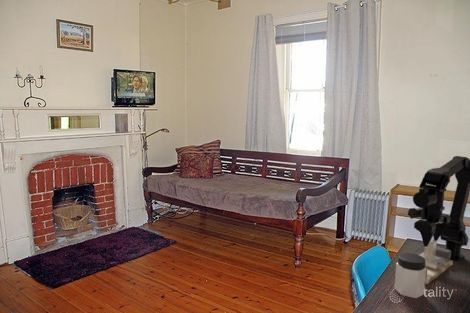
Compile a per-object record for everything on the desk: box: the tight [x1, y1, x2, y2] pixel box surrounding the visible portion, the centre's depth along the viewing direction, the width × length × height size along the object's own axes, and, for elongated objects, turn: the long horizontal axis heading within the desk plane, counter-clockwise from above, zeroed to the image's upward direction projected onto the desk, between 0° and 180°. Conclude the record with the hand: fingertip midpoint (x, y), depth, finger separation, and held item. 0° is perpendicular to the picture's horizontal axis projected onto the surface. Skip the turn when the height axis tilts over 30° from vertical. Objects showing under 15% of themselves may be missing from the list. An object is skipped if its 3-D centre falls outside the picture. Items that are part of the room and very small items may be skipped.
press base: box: [425, 245, 454, 285], centre depth 136 cm, size 24×10×6 cm, turn 131°
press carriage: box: [418, 239, 445, 270], centre depth 137 cm, size 8×8×9 cm
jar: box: [394, 252, 426, 299], centre depth 119 cm, size 9×8×12 cm
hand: (430, 243), depth 136 cm, fingers open, 9 cm apart
